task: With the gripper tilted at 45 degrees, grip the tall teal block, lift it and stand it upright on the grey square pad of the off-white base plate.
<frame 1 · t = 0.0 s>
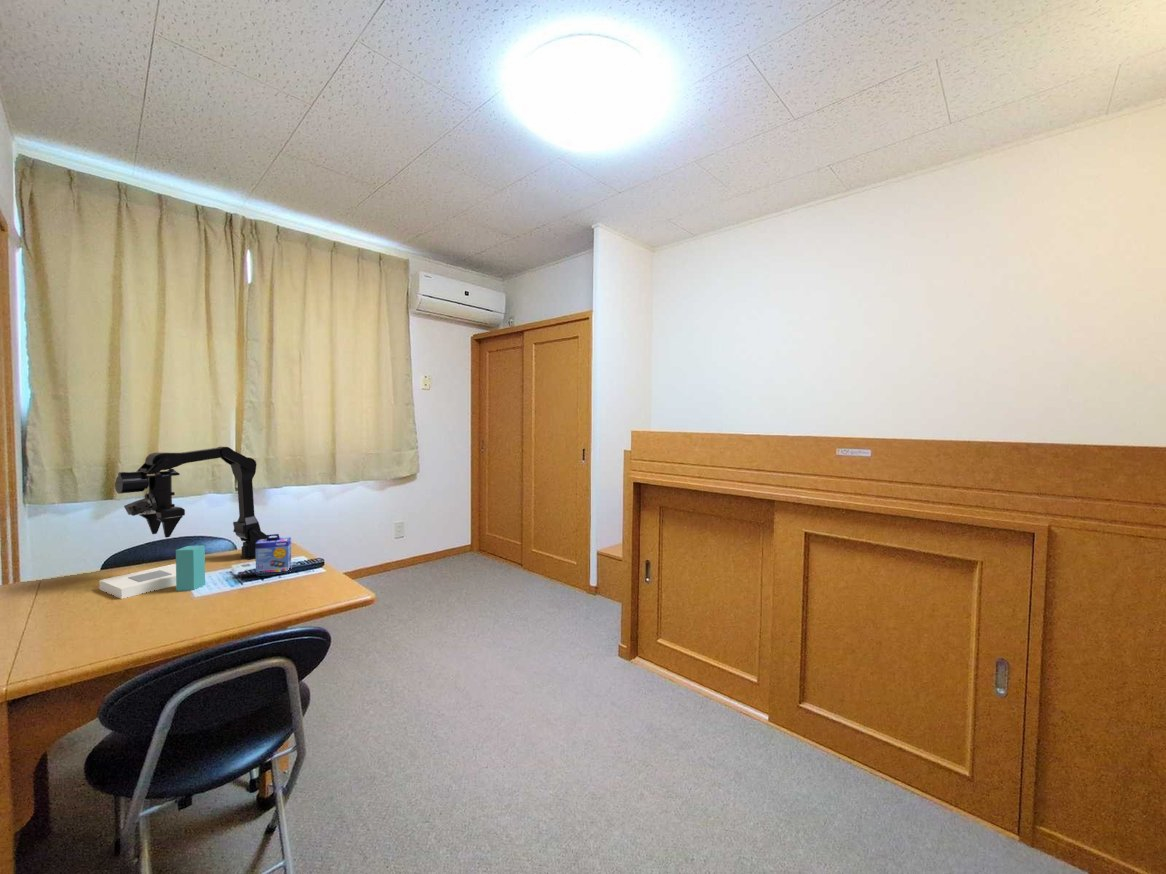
hand: (160, 535, 150), 15 cm above the table, tool pointing down, fingers open, 9 cm apart
teal block: (191, 587, 143), on the table
base plate: (152, 583, 146), on the table
ink cartridge box: (273, 574, 156), on the table
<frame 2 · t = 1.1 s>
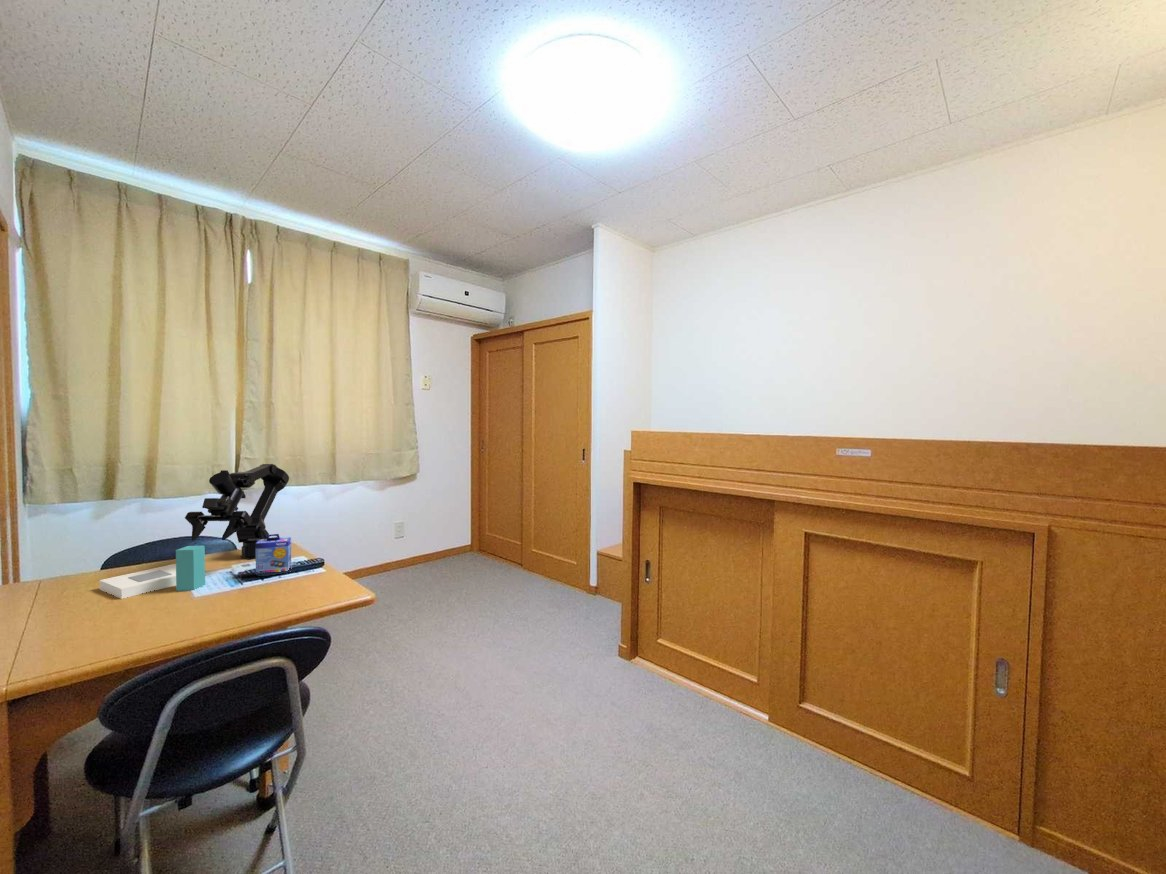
hand: (207, 540, 150), 13 cm above the table, tool tilted 45°, fingers open, 9 cm apart
nothing on the table moved.
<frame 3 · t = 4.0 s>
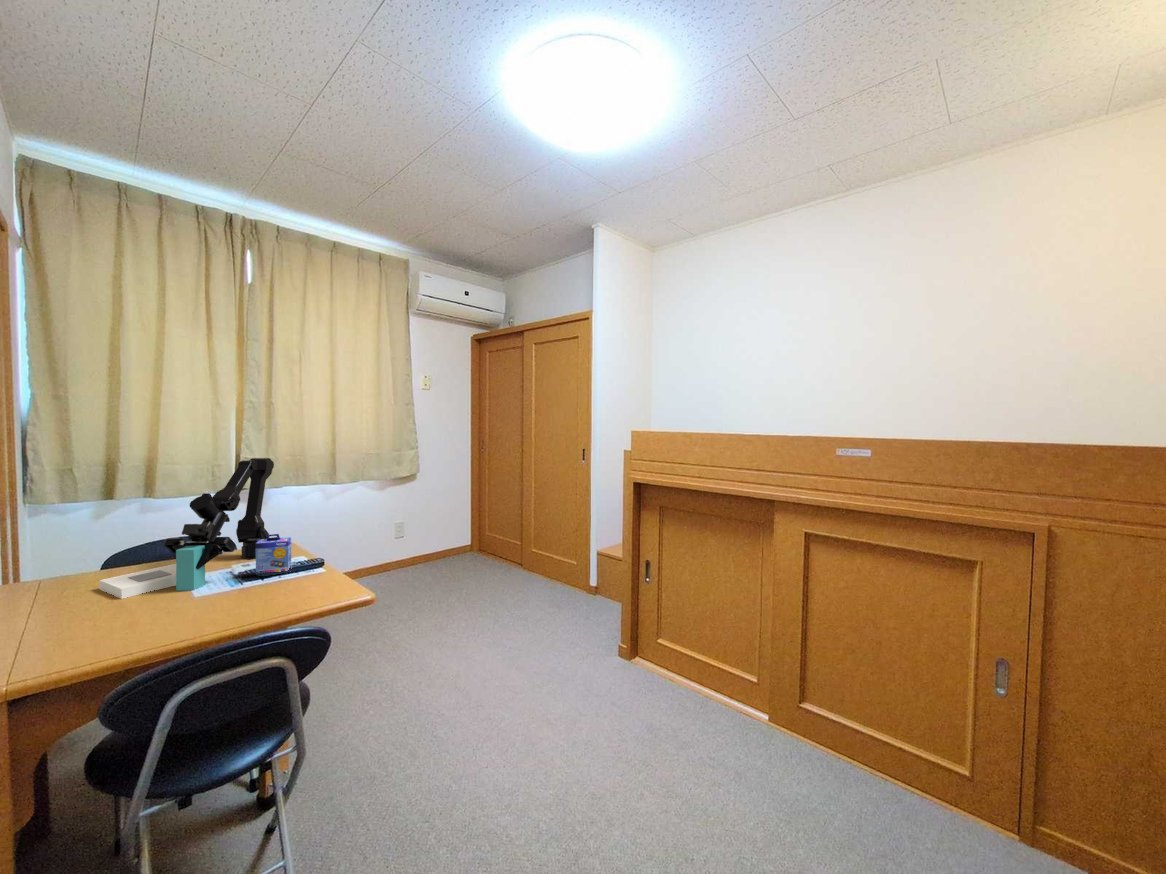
hand: (187, 568, 141), 7 cm above the table, tool tilted 45°, fingers closed on teal block, 5 cm apart
teal block: (191, 587, 143), on the table, touching gripper
everything else where it was.
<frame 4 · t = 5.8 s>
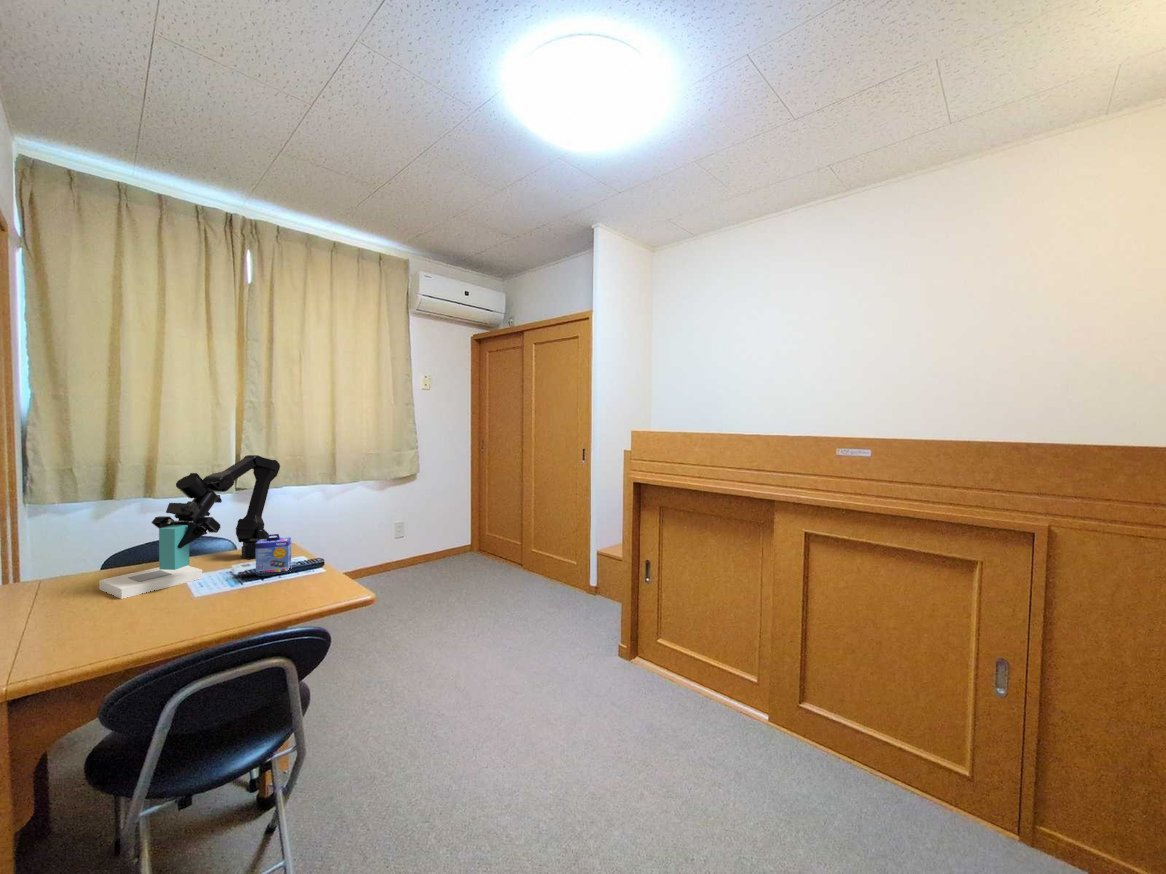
hand: (170, 547, 141), 13 cm above the table, tool tilted 45°, fingers closed on teal block, 5 cm apart
teal block: (174, 566, 142), point 7 cm above the table, touching gripper
everything else where it was.
when the fingers open (11 cm above the table, at t = 7.6 s): teal block drops 1 cm, resting on base plate.
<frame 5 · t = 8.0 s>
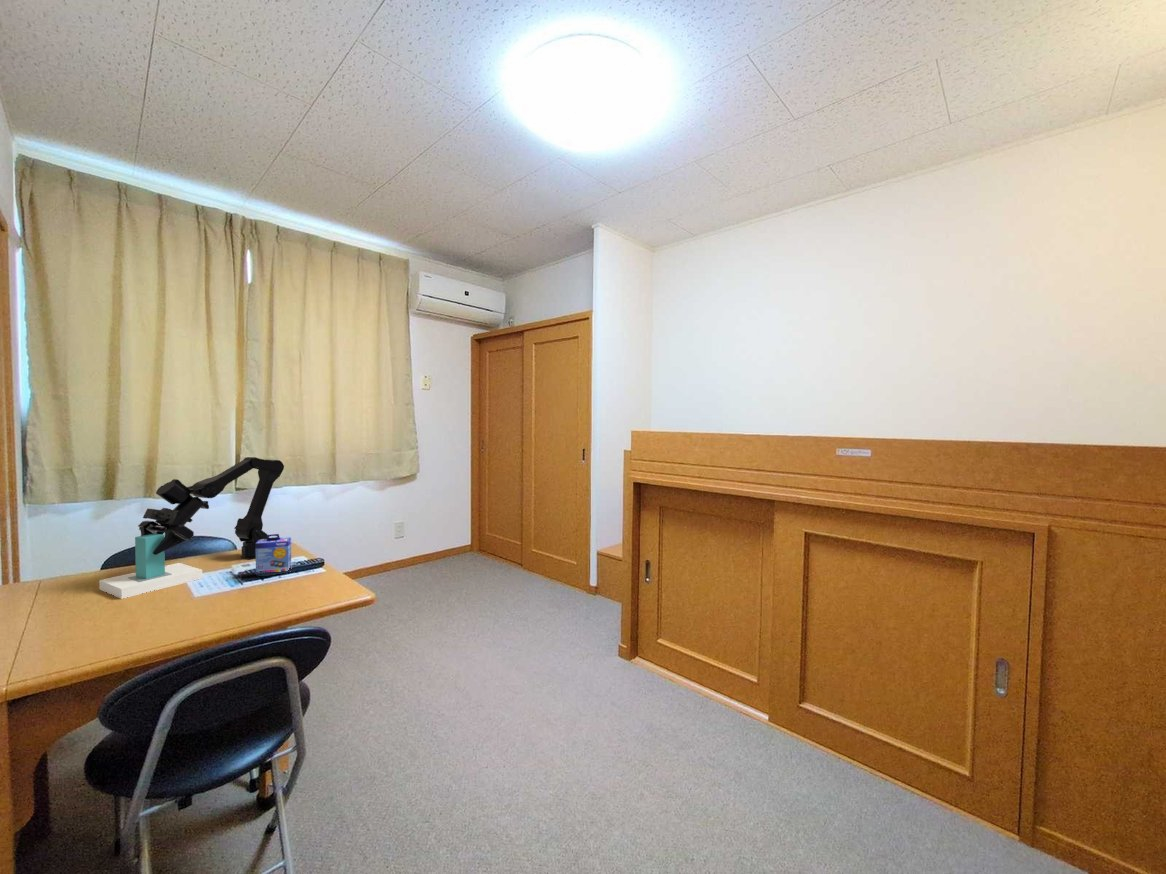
hand: (144, 552, 143), 11 cm above the table, tool tilted 45°, fingers open, 9 cm apart
teal block: (150, 575, 144), point 3 cm above the table, touching base plate
everything else where it was.
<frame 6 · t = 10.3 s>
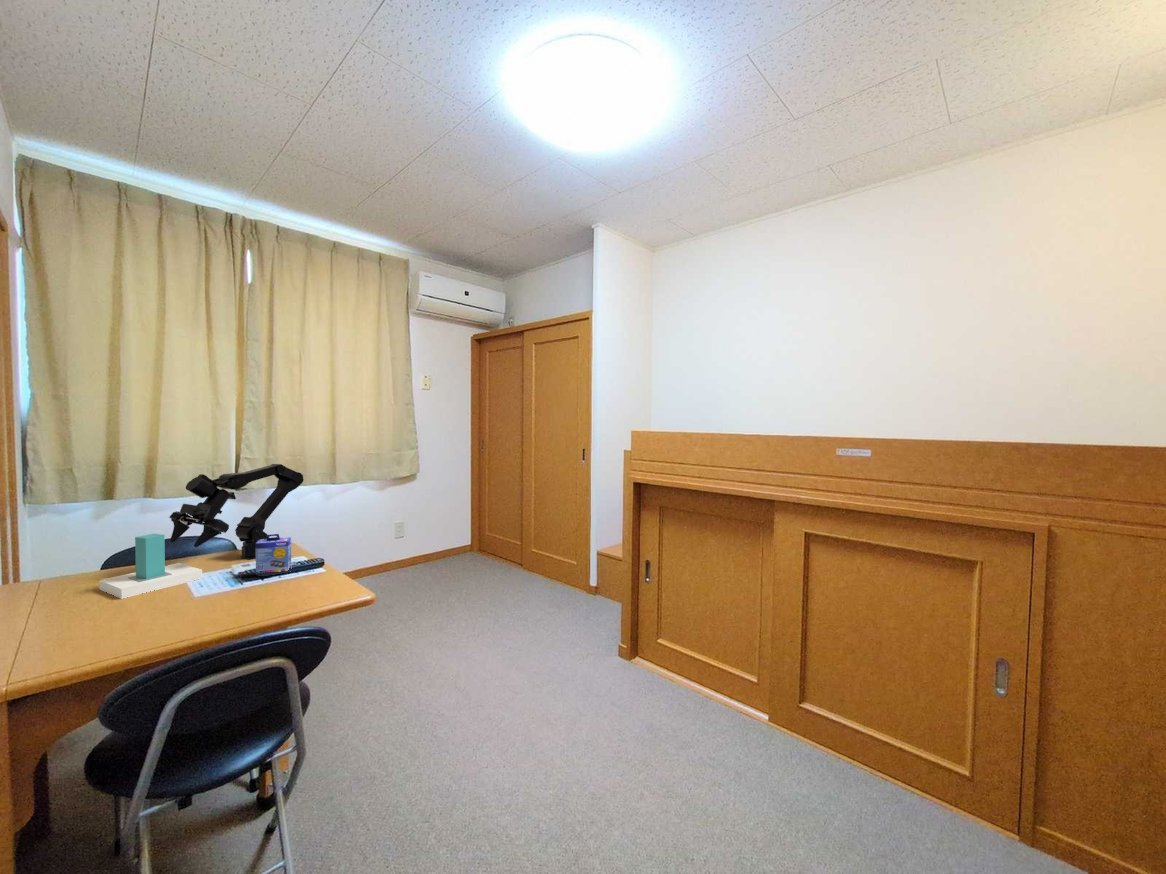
hand: (183, 544, 153), 11 cm above the table, tool tilted 40°, fingers open, 9 cm apart
nothing on the table moved.
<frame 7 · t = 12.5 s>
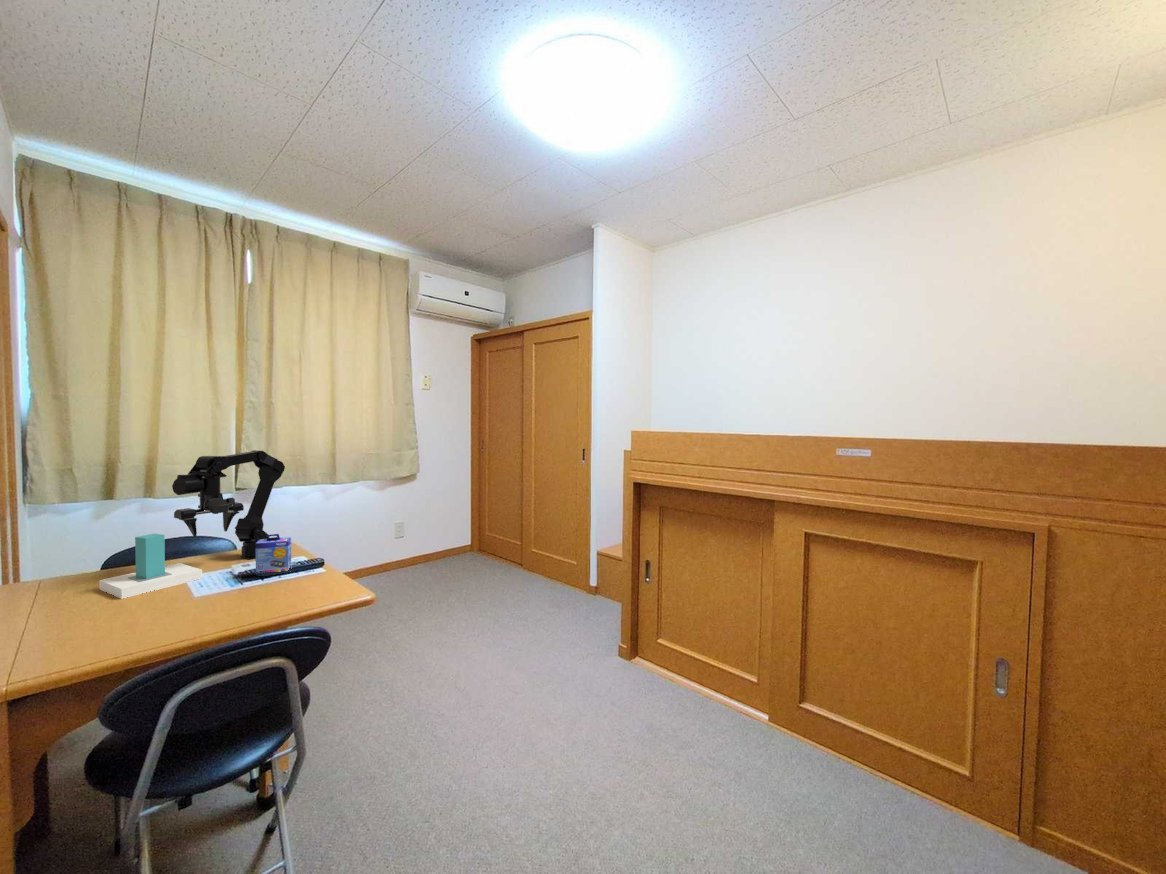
hand: (210, 534, 160), 13 cm above the table, tool pointing down, fingers open, 9 cm apart
nothing on the table moved.
at the end: teal block inside the target area on the base plate (0.1 cm from its centre), point 3.2 cm above the base plate's base; teal block tilted 0°; teal block touching base plate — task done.
